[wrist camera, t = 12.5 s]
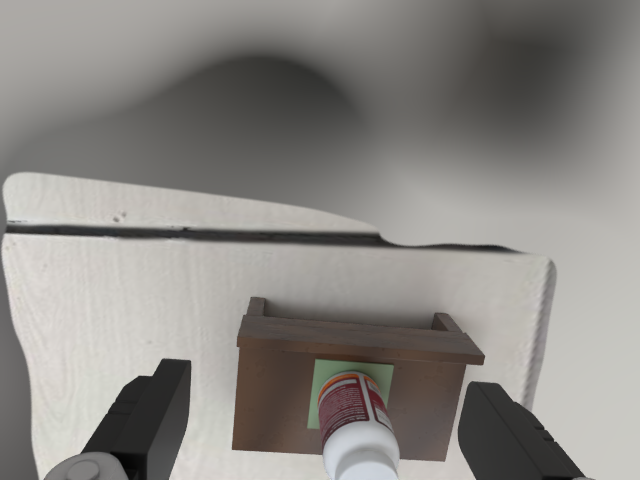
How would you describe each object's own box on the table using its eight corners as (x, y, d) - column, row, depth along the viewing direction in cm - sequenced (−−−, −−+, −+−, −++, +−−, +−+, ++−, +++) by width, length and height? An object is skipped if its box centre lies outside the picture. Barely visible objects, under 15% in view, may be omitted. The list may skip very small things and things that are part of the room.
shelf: (239, 411, 49) (227, 473, 40) (248, 296, 45) (237, 336, 36) (427, 423, 50) (455, 485, 42) (450, 313, 47) (485, 355, 38)
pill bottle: (309, 417, 42) (315, 515, 31) (326, 362, 41) (337, 445, 30) (370, 429, 43) (395, 528, 32) (388, 375, 41) (420, 461, 31)
